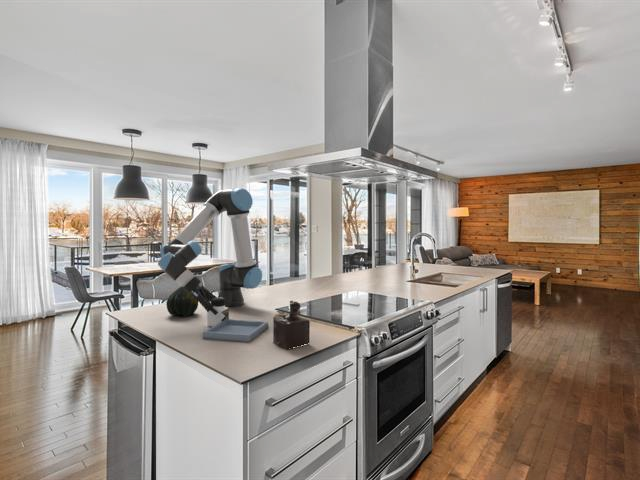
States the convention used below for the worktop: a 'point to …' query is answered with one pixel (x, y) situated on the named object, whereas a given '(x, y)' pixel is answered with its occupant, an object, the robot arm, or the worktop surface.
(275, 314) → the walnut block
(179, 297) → the squash
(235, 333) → the tray
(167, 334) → the worktop surface
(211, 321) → the medicine bottle
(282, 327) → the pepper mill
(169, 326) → the worktop surface
